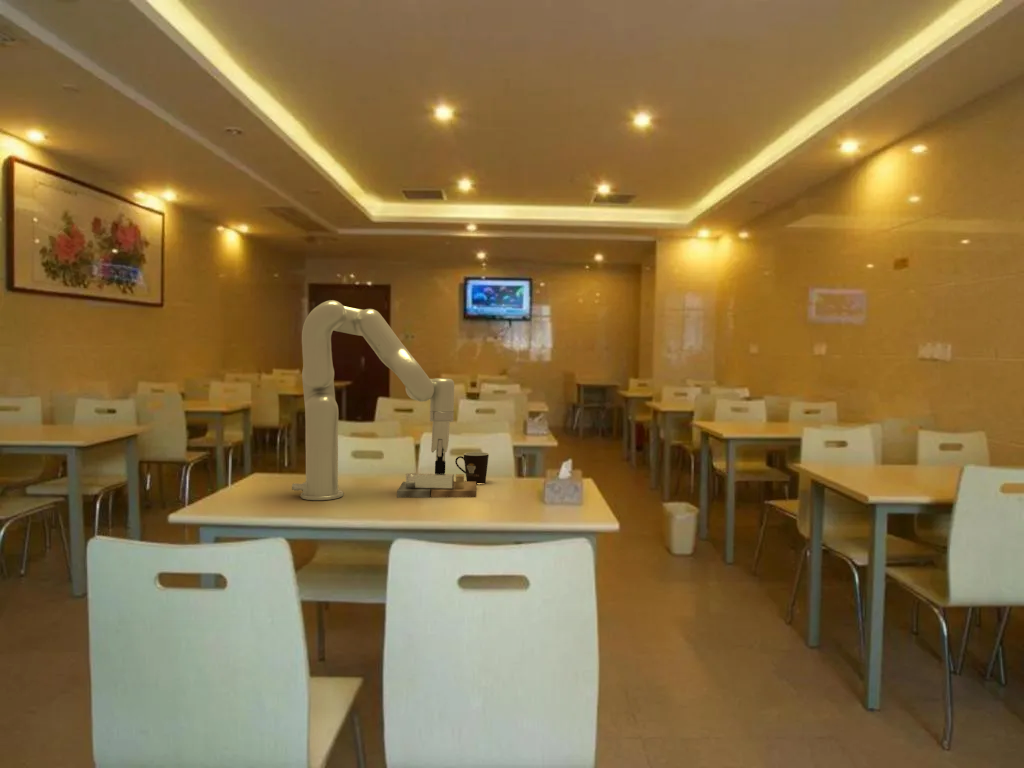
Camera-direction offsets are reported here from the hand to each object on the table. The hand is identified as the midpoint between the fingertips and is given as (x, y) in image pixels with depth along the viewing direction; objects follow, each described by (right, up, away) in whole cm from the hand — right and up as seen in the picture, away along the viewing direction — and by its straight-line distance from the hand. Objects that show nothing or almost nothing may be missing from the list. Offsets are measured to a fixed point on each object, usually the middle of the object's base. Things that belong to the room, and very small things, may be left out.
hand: (440, 473), depth 222 cm
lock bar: (-3, -3, -7) cm, 9 cm away
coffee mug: (+10, -5, +15) cm, 19 cm away
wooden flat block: (0, -6, -3) cm, 6 cm away
